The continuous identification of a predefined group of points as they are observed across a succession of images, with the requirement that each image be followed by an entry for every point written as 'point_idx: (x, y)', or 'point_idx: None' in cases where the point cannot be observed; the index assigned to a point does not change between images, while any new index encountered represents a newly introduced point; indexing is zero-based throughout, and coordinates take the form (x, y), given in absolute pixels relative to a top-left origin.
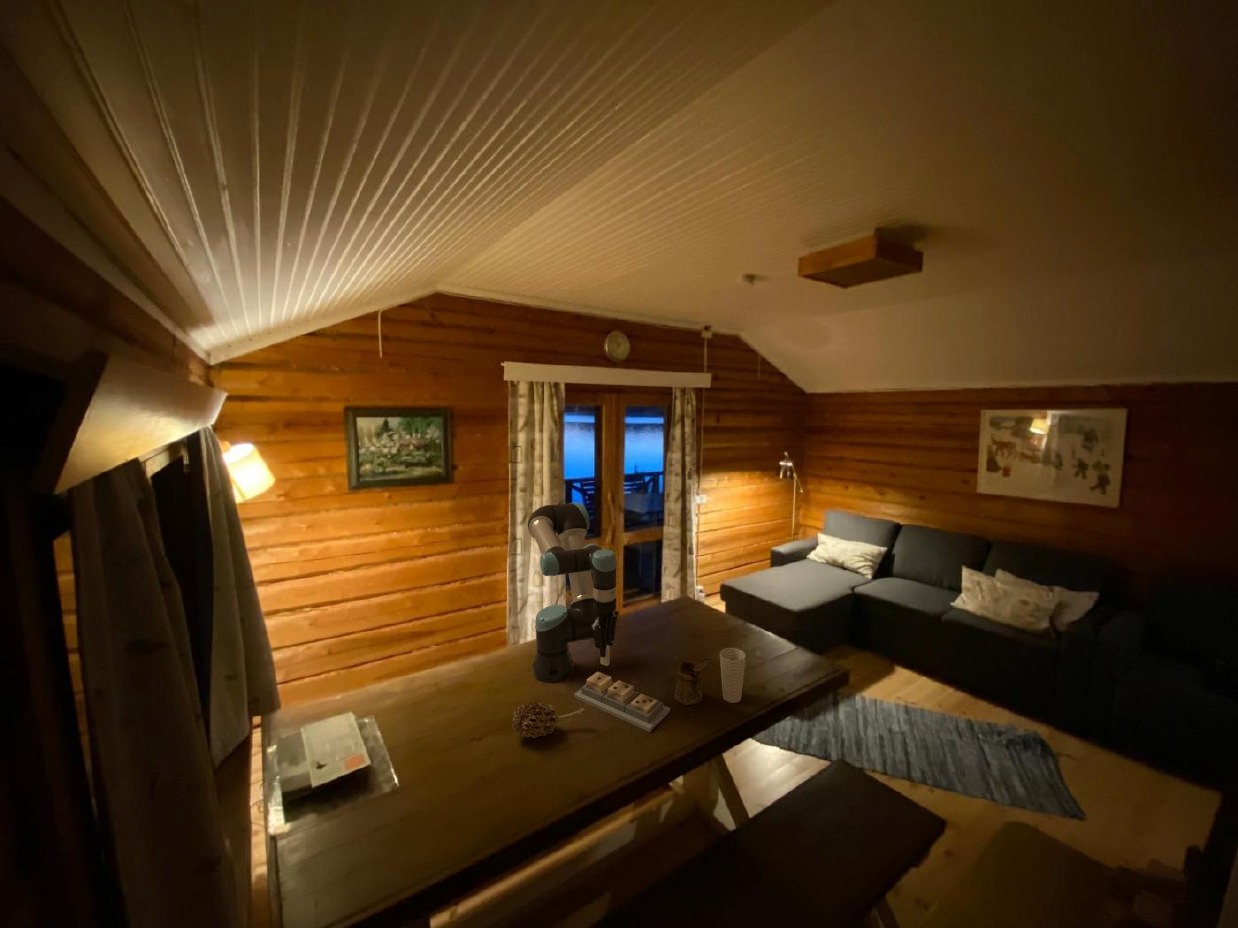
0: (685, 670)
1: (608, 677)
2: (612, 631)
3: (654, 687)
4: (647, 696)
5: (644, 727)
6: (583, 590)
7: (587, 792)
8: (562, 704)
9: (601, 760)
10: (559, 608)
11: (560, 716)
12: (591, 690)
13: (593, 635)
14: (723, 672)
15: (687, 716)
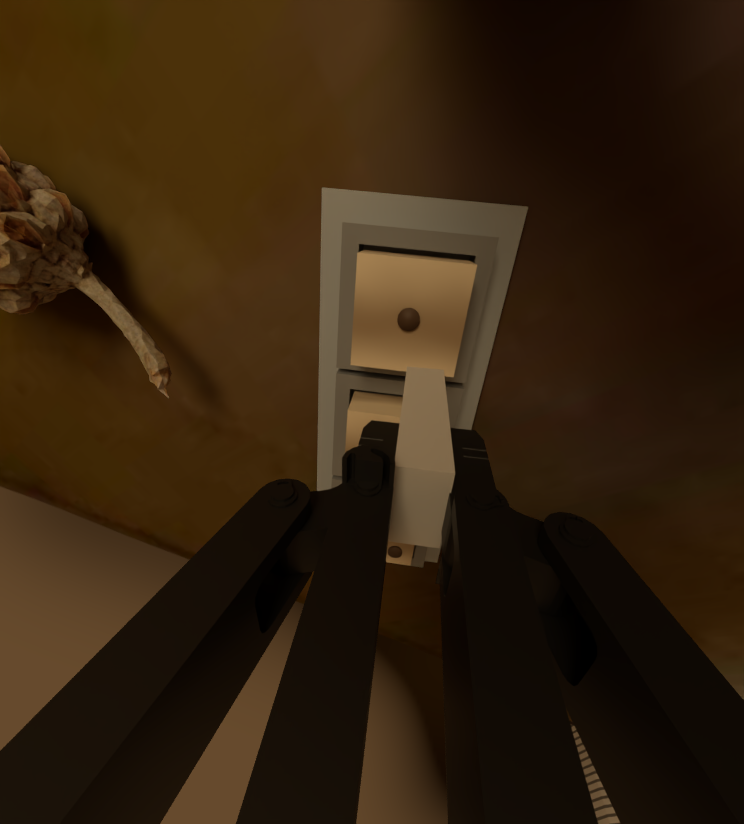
0: None
1: (443, 362)
2: (592, 747)
3: (556, 475)
4: None
5: None
6: None
7: (54, 492)
8: (247, 169)
9: (145, 476)
10: None
11: (89, 293)
12: (350, 296)
13: (21, 734)
14: (586, 760)
15: (436, 589)
